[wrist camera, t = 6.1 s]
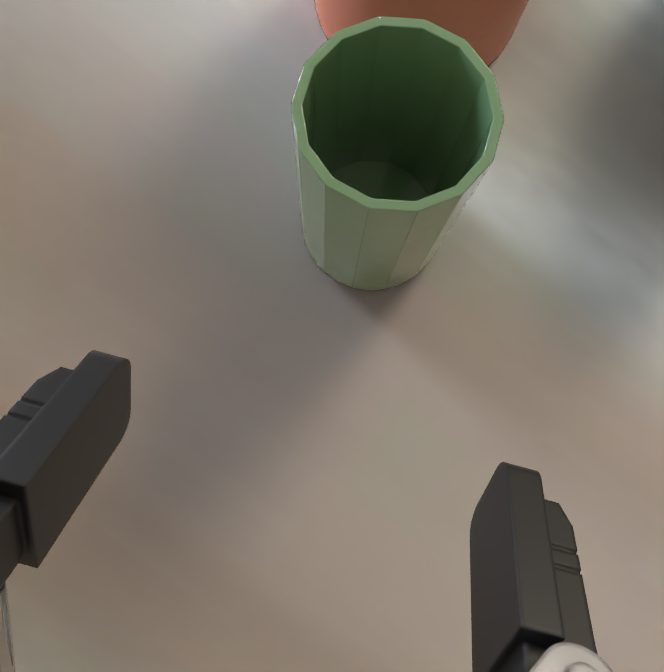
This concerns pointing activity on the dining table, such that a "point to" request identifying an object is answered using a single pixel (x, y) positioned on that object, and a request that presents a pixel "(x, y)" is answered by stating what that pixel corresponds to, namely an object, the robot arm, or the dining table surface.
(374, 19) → the green cup
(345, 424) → the dining table surface
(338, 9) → the cup stack
